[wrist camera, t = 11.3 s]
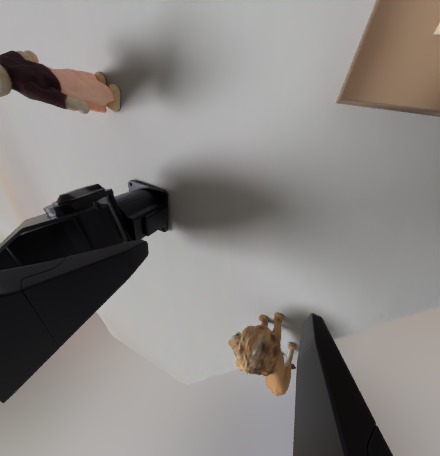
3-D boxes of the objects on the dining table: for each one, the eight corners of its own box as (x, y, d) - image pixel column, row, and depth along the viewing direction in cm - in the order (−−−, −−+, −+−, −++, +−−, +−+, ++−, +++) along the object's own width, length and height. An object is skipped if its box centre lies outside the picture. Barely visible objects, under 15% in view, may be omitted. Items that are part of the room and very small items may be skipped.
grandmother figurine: (86, 98, 23) (-87, 76, 13) (85, 60, 21) (-124, -1, 11) (133, 127, 23) (-13, 127, 12) (137, 90, 20) (-38, 54, 10)
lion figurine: (240, 297, 29) (216, 355, 21) (272, 293, 26) (256, 359, 18) (280, 362, 32) (271, 432, 24) (313, 365, 29) (313, 445, 22)
